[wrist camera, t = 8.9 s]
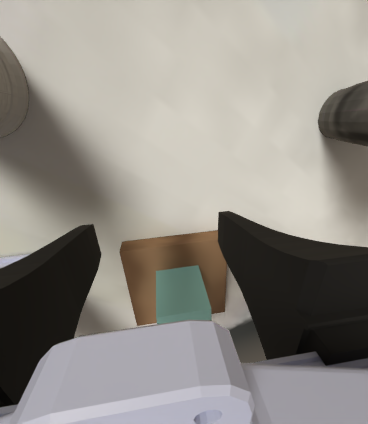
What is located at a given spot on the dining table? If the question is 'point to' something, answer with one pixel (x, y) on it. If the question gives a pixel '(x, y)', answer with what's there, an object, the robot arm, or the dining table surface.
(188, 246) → the walnut base
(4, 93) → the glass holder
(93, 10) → the dining table surface
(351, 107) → the beverage cup
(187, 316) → the teal block
